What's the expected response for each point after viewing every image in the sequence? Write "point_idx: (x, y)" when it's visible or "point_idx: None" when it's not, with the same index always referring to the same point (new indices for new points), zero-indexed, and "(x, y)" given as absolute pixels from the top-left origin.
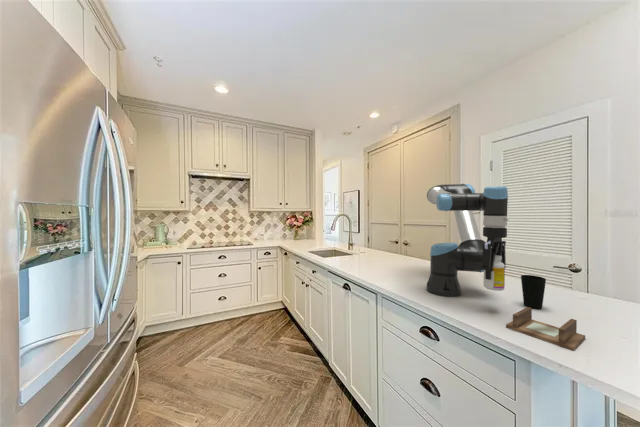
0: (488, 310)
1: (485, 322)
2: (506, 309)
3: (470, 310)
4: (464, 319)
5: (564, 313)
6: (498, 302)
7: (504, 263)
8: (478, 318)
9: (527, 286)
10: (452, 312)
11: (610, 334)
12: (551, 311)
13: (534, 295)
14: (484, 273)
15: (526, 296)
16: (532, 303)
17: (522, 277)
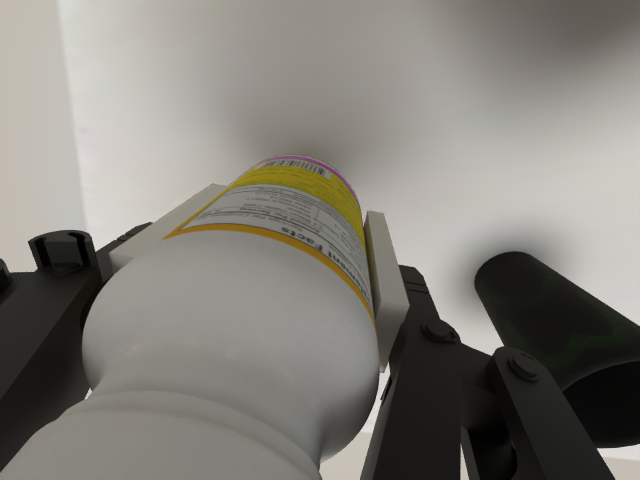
0: (304, 155)
1: (154, 184)
2: (384, 210)
3: (228, 89)
4: (97, 110)
5: (488, 351)
6: (477, 160)
7: (469, 439)
8: (166, 151)
9: (527, 339)
10: (113, 25)
11: (371, 410)
12: (484, 325)
13: (498, 329)
14: (200, 207)
15: (504, 293)
16: (482, 294)
17: (594, 362)
